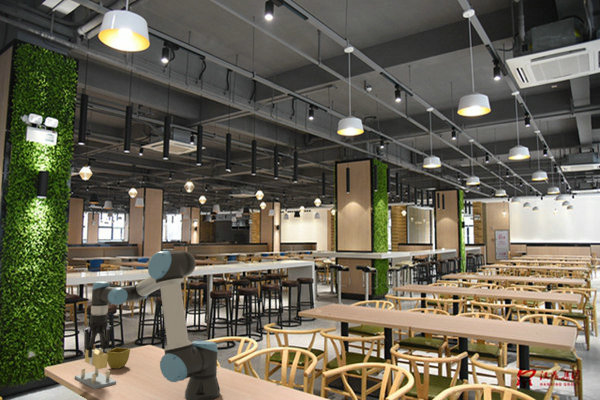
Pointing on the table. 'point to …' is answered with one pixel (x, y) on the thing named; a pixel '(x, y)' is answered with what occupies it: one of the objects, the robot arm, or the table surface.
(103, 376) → the peg board
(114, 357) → the flower pot
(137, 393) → the table surface
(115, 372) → the table surface
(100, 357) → the pale yellow block
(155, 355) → the table surface
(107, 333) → the robot arm
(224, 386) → the table surface
